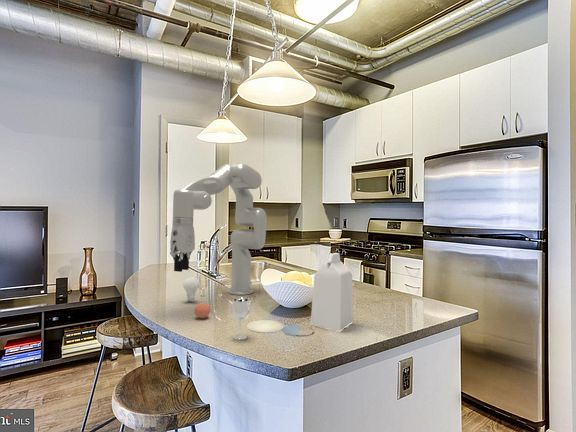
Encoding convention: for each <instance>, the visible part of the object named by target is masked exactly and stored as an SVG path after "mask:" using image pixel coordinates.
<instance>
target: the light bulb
mask: <svg viewBox="0 0 576 432" xmlns="http://www.w3.org/2000/svg"><path fill="white" fill-rule="evenodd" d="M199 287H200V281H199V279H197V277H193V276H189V277H188V278H186V279H185V280H184V282H183V288H184V290H185V292H186V296H187V302H189V303H192V302H194V301H195V296H196V292H197V291H198V289H199Z"/></svg>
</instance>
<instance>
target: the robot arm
mask: <svg viewBox="0 0 576 432" xmlns="http://www.w3.org/2000/svg"><path fill="white" fill-rule="evenodd" d="M262 180H263V179H262V175H261V174H260V173H259V172H258V171H257V170H256V169H255V168H252V167H251V166H249V165H248V164H246V163H240V162H237V163H232V162H231V163H225V164H222V165H221V166H220V167H219V168H217V169H216V170H215V171H214V172H212V173H211V174H210V175H209V176H206V177H204V178H201V179H198V180H196V181H194V182H190V183H189V184H188V185H186V186H185V187H183V188H182V189H176V190H174V192H173V194H172V195H173V196H172V197H173V198H172V228H171V233H170V242H169V244H170V245H169V248H170V249H169V250H170V252H169V255H170V256H171V257H172V258H173V262H174V263H173V271H174V272H178V273H179V272H180V273H181V272H183V270H185V271H188V270H189V267H190V259H191V255H192V253H193V251H195V249H196V247H195V246H196V242H195V241H196V238H195V237H196V235H195V228H194V214H195V213H194V210H197V211H203V210H207V209H209V207H211V205H212V202H213V200H212V196H213V195H216V194H219V193H222V192H223V191H224V190H225V189H226V188H227V187H228V186H230V188H231V189H232V191H233V193H234V195H235V214H234V215H235V216H234V221H235V224H236V225H237V226H239V227H250V228H251V227H253V229H249V228H237V229H234V230H233V231H232V232H231V234H230V246H231V274H230V275H231V279H230V280H231V281H230V288H228V289H227V293H228V294H230V295H234V296H235V295H236V296H244V295H251V294H254V289H253V288H251V286H252V285H253V284H252V281H251V278H252V277H251V274H252V255H251V253H250V250H249V249H251V250H261V249H262V248H263V247H264V246H265V243H266V236H267V223H268V222H267V218H268V217H267V213H266V211H265V210H264V209H263V208H261V207H254V197H253V194H252V192H251V191H250V190H256V189H259V188H260V187H261V185H262V183H263V181H262ZM263 249H264V248H263Z"/></svg>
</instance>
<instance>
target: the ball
mask: <svg viewBox="0 0 576 432" xmlns="http://www.w3.org/2000/svg"><path fill="white" fill-rule="evenodd" d="M194 314H195V316H196V317H197V318H198V319H206V318H207V317H208V316H209V315H210V314H211V307H210V305H208V304H207V303H205V302H201V303H198V304H197V305H196V306H195V308H194Z"/></svg>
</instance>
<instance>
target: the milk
mask: <svg viewBox="0 0 576 432" xmlns="http://www.w3.org/2000/svg"><path fill="white" fill-rule="evenodd" d="M352 274H353V273H352V272H351V270H350V269H349V268H348V267H347V266H346V264H344V263H343V262H342V261H341V255H340V252H339V253H338V252H335V253H330V254H329V255H328V259H327V261H326V262H324V264H323V265H322V266H321V267H320V268H319V269H318V270H317V271H316V272H315V274H314V277H313V288H312V299H311V300H312V301H311V314H310V316H311V317H310V325H315V326H319V327H325V328H331V329H335V330H341V329H343V328H344V327H345V326H347V325H348V324H349V323H351V322H352V321H353V322H354V309H353V308H354V306H353V305H354V304H353V302H354V300H353V296H354V295H353V275H352Z"/></svg>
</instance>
